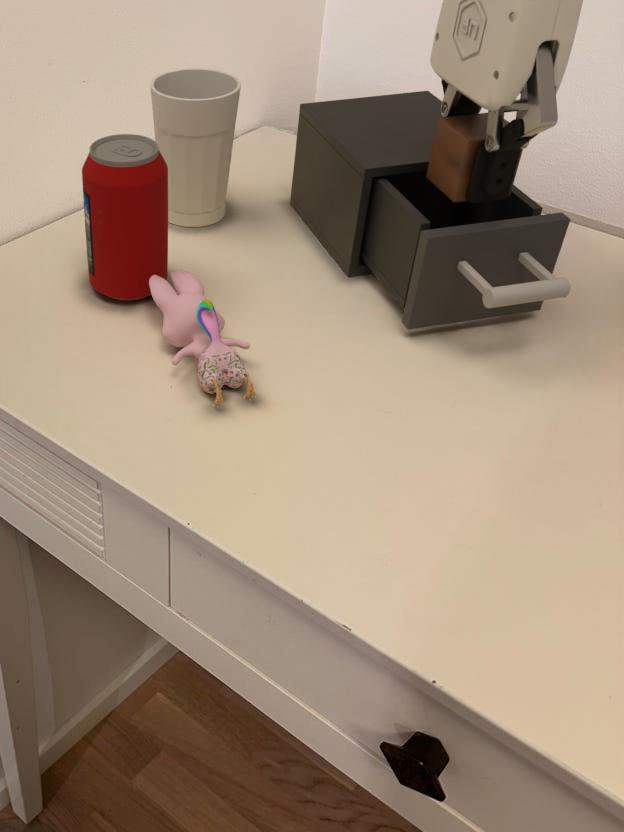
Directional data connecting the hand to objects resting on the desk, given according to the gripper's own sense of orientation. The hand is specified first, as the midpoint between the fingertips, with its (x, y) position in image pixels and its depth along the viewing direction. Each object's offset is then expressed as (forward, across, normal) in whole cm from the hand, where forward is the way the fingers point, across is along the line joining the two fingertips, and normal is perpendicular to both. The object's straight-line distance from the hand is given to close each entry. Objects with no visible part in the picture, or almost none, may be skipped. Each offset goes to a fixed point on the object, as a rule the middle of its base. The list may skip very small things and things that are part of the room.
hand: (468, 182), depth 67 cm
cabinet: (+10, -12, 0) cm, 16 cm away
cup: (+10, -20, -16) cm, 28 cm away
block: (0, 0, 0) cm, 0 cm away
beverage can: (+10, -8, -25) cm, 28 cm away
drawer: (+9, +1, 0) cm, 9 cm away
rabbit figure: (+10, +3, -22) cm, 24 cm away
